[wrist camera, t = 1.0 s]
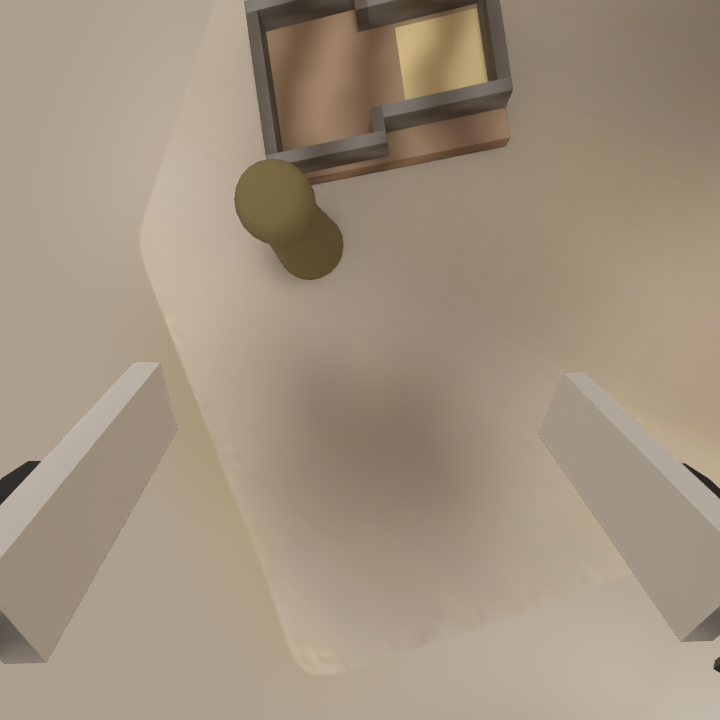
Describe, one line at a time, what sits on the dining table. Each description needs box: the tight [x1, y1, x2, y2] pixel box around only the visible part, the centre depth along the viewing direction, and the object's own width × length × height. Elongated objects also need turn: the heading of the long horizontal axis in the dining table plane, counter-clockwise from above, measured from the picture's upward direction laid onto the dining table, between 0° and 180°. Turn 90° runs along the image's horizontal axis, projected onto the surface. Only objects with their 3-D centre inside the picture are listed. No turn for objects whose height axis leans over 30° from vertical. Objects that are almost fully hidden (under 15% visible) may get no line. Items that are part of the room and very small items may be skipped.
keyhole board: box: [244, 0, 513, 185], centre depth 31 cm, size 20×15×3 cm
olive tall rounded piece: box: [234, 159, 343, 280], centre depth 28 cm, size 6×6×11 cm
